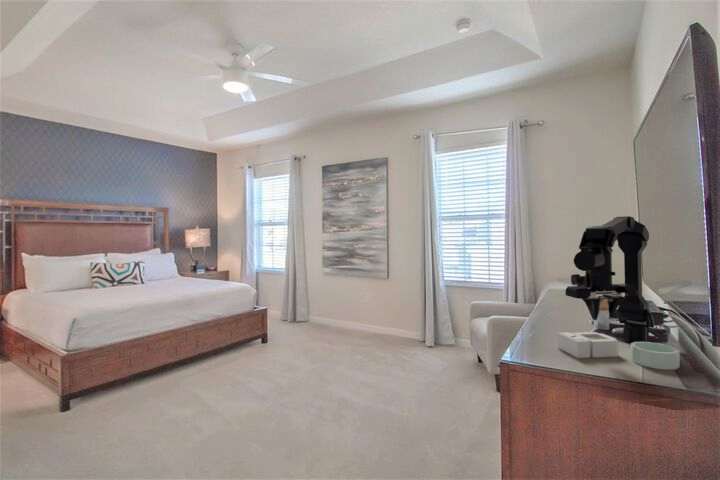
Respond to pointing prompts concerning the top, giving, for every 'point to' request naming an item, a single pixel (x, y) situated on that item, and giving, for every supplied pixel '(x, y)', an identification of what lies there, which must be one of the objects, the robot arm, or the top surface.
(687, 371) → the top surface
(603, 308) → the battery cell
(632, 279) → the robot arm
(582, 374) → the top surface
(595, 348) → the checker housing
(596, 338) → the plunger
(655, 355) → the cup
